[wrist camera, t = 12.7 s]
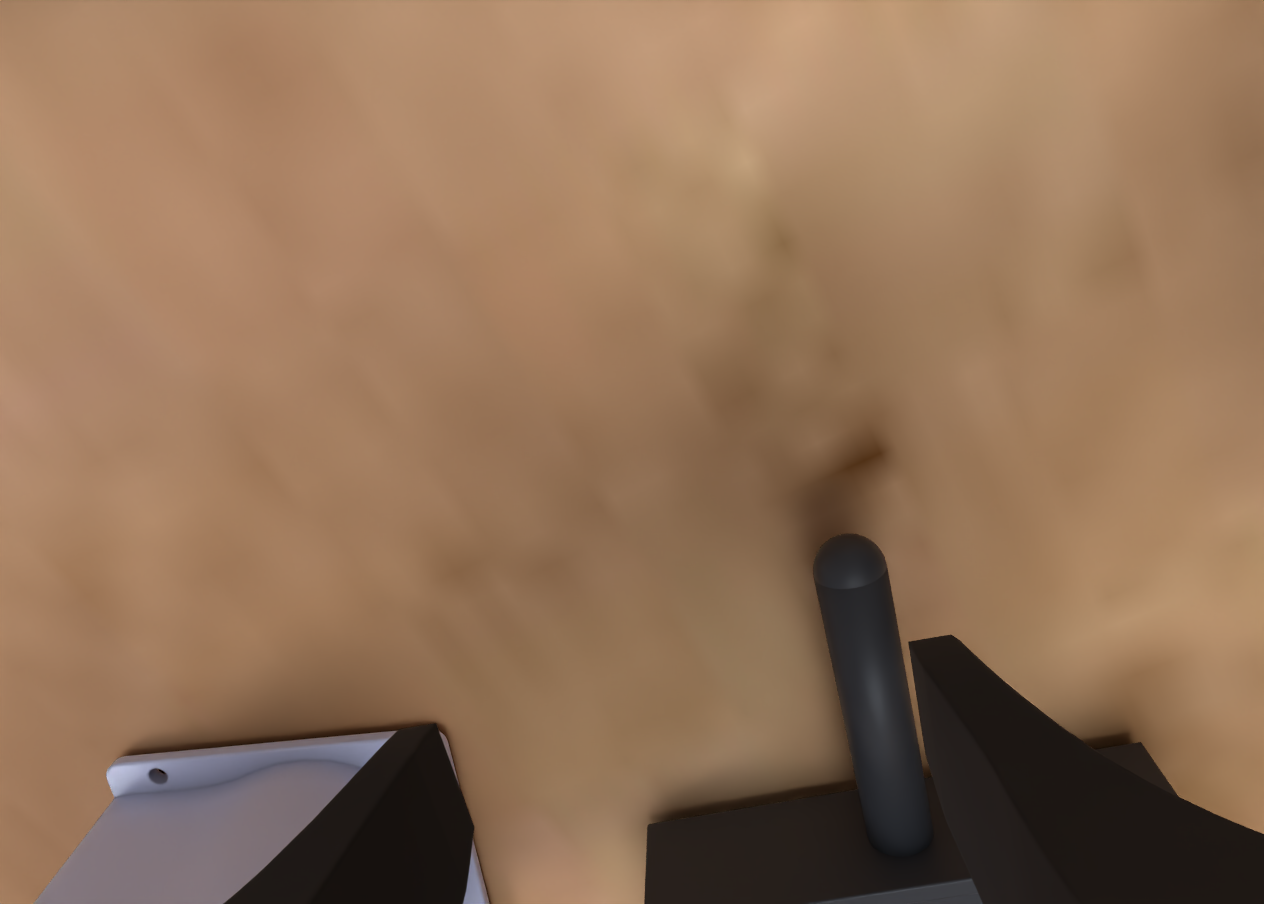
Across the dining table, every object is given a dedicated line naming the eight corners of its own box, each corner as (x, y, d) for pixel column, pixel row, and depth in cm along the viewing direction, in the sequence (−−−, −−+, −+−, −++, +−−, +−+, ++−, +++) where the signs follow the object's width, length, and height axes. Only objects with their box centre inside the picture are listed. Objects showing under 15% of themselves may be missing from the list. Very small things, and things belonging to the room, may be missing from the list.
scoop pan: (1157, 1016, 29) (1226, 1152, 25) (727, 1073, 30) (733, 1208, 27) (1110, 439, 22) (1195, 511, 19) (567, 551, 24) (547, 637, 20)
